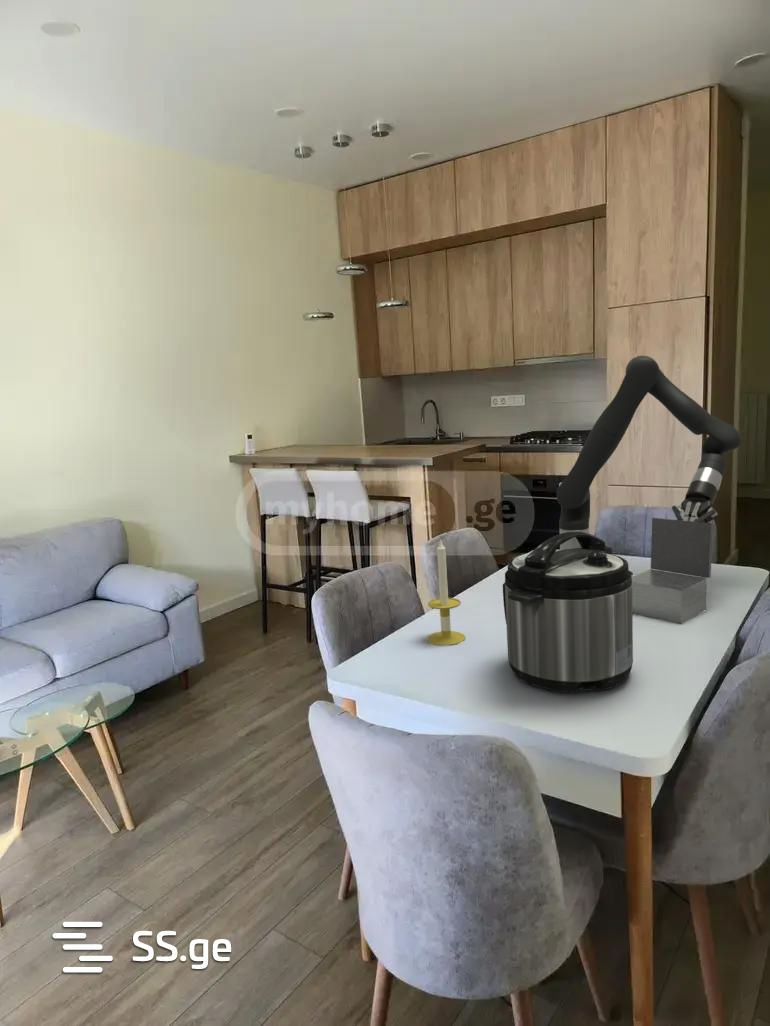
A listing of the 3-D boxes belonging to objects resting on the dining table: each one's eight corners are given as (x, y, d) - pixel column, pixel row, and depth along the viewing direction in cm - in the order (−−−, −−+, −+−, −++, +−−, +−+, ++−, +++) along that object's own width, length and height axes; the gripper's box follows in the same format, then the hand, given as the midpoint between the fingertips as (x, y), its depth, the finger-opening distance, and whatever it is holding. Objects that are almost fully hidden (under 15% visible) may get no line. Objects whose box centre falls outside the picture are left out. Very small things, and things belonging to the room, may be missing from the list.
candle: (449, 648, 169) (443, 544, 164) (419, 640, 176) (412, 540, 171) (473, 636, 176) (468, 536, 171) (443, 629, 183) (437, 532, 178)
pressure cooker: (606, 641, 166) (604, 515, 161) (664, 690, 139) (664, 540, 133) (487, 654, 164) (481, 527, 158) (522, 706, 136) (516, 554, 131)
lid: (652, 518, 192) (657, 517, 194) (650, 568, 194) (655, 567, 196) (710, 523, 180) (716, 522, 181) (708, 578, 181) (713, 576, 183)
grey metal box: (624, 611, 186) (624, 580, 185) (650, 599, 195) (650, 569, 194) (681, 623, 174) (681, 590, 173) (706, 610, 183) (706, 578, 181)
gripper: (677, 478, 196) (656, 527, 191) (723, 480, 186) (703, 532, 181) (685, 493, 201) (666, 541, 195) (731, 496, 191) (712, 547, 185)
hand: (684, 537), depth 188 cm, fingers closed
